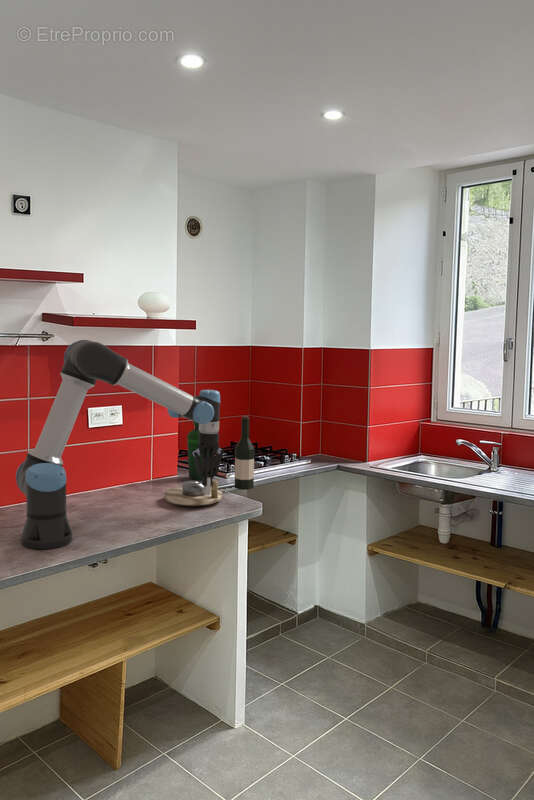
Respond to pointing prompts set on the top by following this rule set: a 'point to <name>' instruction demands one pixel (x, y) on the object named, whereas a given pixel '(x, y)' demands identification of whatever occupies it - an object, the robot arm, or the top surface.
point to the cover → (192, 488)
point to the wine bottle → (244, 459)
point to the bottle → (192, 446)
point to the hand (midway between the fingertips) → (206, 494)
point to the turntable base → (193, 505)
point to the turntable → (179, 498)
